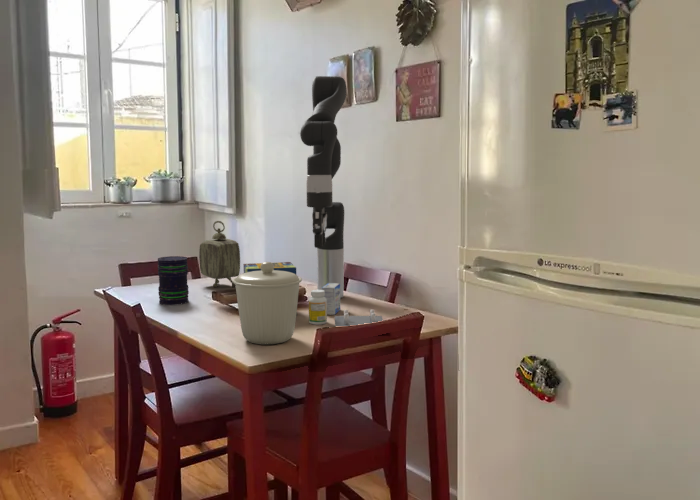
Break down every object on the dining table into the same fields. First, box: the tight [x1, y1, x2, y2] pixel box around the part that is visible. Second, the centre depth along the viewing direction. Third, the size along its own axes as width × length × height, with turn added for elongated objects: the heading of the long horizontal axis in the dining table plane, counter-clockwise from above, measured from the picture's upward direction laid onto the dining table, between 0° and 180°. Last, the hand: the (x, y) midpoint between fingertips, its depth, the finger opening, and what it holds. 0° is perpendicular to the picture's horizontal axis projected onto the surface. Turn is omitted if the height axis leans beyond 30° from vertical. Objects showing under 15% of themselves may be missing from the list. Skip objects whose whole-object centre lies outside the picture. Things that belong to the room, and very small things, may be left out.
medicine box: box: [321, 283, 341, 316], centre depth 213 cm, size 8×4×9 cm, turn 168°
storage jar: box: [157, 255, 190, 306], centre depth 227 cm, size 10×10×15 cm
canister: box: [232, 261, 303, 345], centre depth 179 cm, size 18×18×21 cm
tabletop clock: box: [198, 220, 241, 288], centre depth 255 cm, size 14×9×25 cm, turn 46°
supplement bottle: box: [308, 289, 328, 326], centre depth 199 cm, size 5×5×10 cm
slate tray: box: [334, 309, 384, 327], centre depth 193 cm, size 16×14×4 cm
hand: (319, 246), depth 198 cm, fingers open, 8 cm apart
